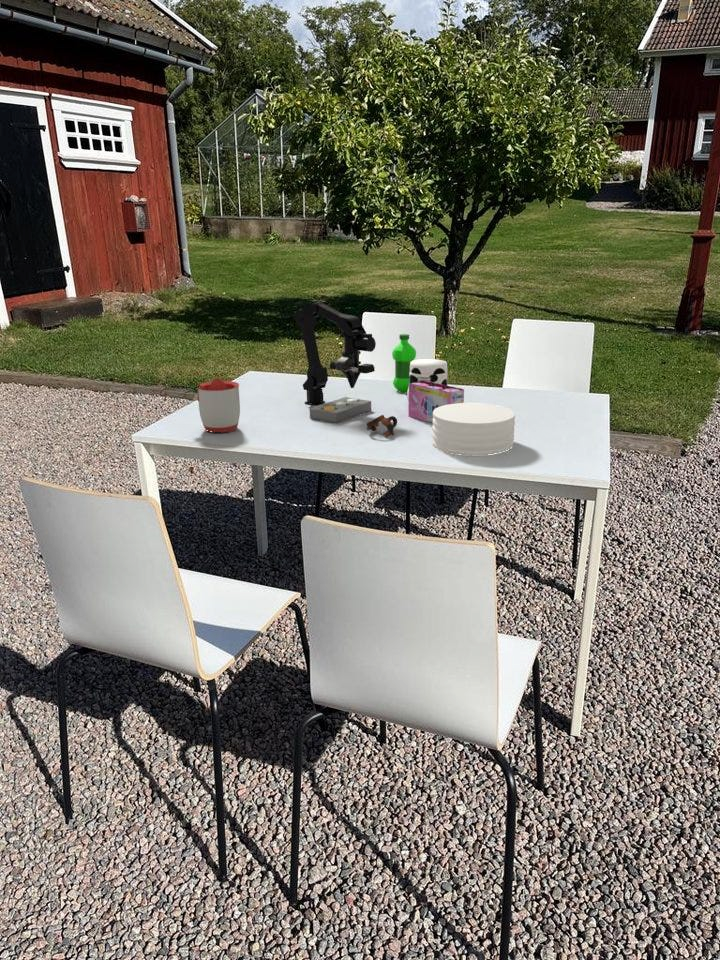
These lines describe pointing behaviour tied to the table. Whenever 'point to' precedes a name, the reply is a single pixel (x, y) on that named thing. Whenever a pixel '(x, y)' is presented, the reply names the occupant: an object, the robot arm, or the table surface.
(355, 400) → the cream button
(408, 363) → the plastic bottle
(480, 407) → the plate stack
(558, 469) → the table surface
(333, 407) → the amber button
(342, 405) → the sage button
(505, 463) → the table surface
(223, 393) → the citrus juicer
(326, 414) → the button panel
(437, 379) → the milk container
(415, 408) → the gum box
